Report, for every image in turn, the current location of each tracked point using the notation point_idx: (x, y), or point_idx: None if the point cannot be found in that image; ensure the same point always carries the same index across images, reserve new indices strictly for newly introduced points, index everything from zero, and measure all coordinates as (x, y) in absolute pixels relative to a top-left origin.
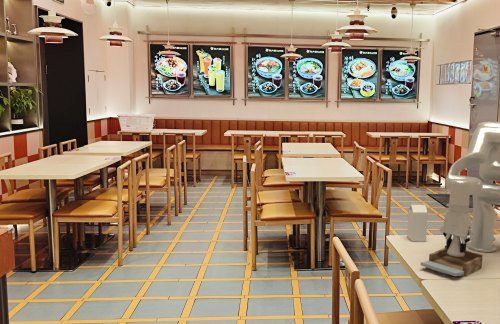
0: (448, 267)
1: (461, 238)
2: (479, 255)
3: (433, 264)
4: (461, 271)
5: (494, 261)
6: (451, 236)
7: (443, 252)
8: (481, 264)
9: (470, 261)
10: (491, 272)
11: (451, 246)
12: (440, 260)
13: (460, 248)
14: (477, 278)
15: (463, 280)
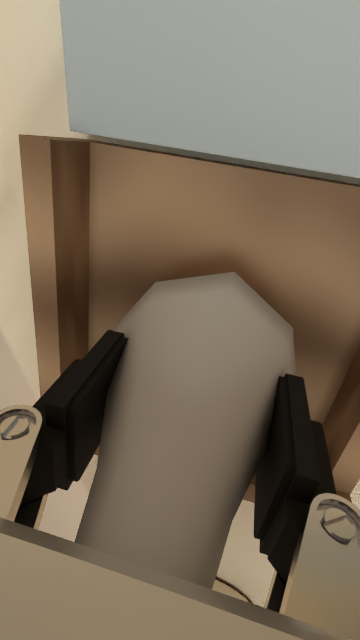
0: (214, 108)
1: (8, 496)
2: None
3: None
4: (75, 85)
5: (87, 486)
6: (269, 595)
7: (343, 422)
8: None
9: (44, 271)
10: (23, 338)
11: (228, 374)
12: (341, 294)
13: (105, 361)
14: (17, 170)
15: (56, 22)
